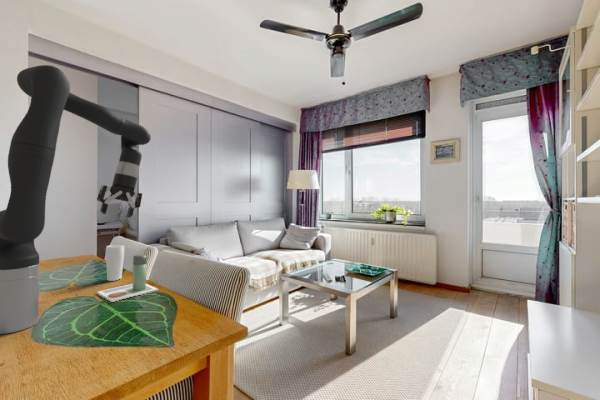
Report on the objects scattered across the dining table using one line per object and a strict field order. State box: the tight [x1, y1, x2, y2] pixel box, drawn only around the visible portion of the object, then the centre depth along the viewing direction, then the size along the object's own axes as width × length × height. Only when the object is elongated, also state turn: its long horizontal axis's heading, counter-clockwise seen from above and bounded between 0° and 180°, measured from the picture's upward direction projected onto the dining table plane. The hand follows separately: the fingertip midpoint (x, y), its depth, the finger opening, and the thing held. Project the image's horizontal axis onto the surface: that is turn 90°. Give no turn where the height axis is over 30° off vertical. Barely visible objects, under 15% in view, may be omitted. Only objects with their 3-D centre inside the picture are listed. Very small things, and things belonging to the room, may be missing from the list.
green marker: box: [132, 254, 148, 291], centre depth 105 cm, size 5×5×13 cm
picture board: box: [96, 283, 159, 303], centre depth 104 cm, size 16×14×1 cm
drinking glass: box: [105, 244, 125, 282], centre depth 118 cm, size 7×7×15 cm
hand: (116, 215), depth 103 cm, fingers open, 8 cm apart
